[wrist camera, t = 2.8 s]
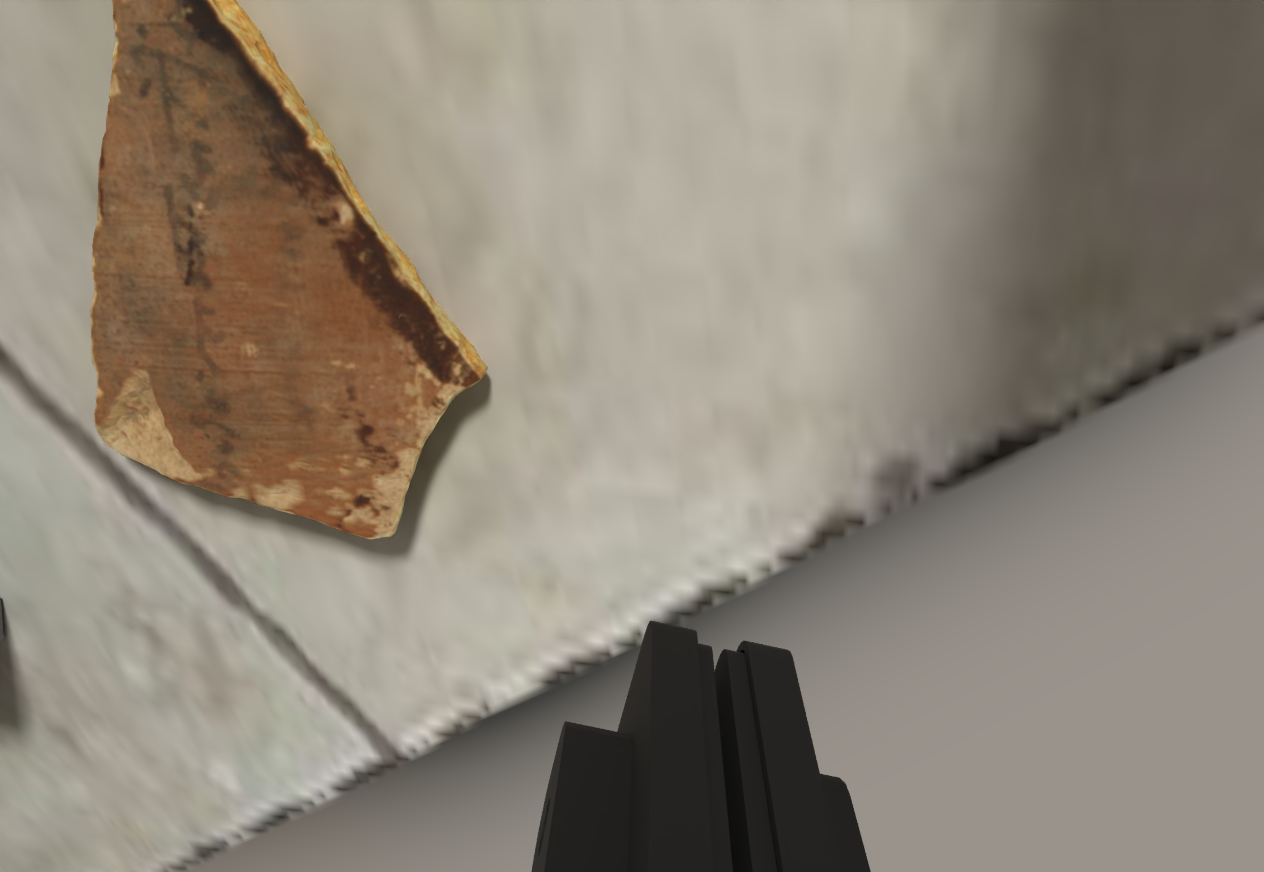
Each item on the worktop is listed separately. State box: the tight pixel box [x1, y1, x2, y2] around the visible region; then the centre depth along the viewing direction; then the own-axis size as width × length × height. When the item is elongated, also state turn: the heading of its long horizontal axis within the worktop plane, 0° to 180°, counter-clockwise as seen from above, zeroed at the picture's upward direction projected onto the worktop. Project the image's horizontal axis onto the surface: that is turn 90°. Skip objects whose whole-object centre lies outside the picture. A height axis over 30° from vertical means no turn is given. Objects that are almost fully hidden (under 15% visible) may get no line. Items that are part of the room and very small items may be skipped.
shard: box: [90, 0, 487, 540], centre depth 17 cm, size 11×8×2 cm
